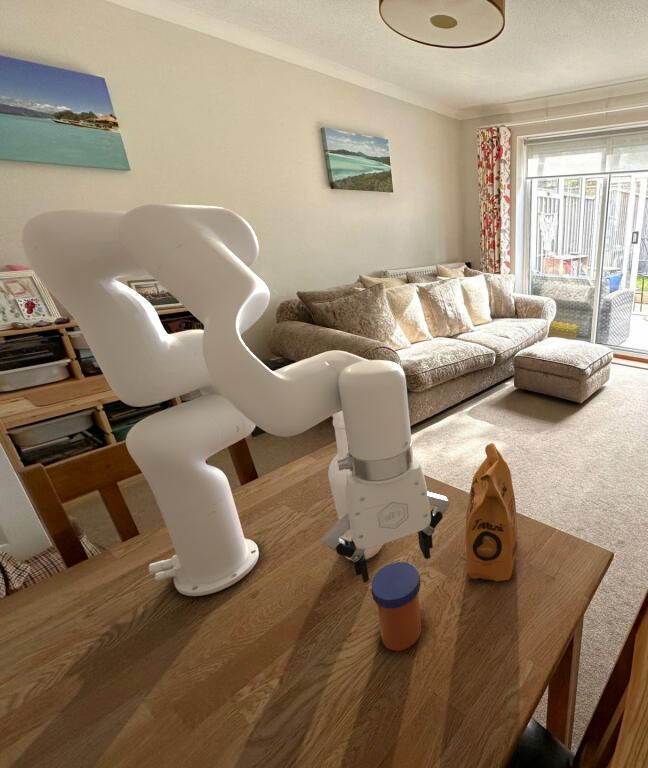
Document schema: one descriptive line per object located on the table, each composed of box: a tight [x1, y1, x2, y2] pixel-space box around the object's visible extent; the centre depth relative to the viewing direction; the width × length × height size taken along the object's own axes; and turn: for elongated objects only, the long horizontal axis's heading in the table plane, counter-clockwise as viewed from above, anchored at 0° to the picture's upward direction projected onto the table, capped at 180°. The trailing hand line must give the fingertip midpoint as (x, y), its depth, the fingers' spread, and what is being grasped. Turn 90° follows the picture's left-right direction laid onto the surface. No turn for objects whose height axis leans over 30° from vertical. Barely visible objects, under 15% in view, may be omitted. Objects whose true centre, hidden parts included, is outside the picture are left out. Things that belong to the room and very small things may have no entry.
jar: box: [376, 592, 422, 652], centre depth 61 cm, size 6×6×10 cm
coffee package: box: [464, 442, 518, 583], centre depth 73 cm, size 10×12×22 cm
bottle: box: [327, 411, 384, 561], centre depth 73 cm, size 8×8×30 cm
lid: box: [370, 561, 421, 609], centre depth 59 cm, size 7×7×2 cm
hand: (395, 562), depth 57 cm, fingers open, 8 cm apart
